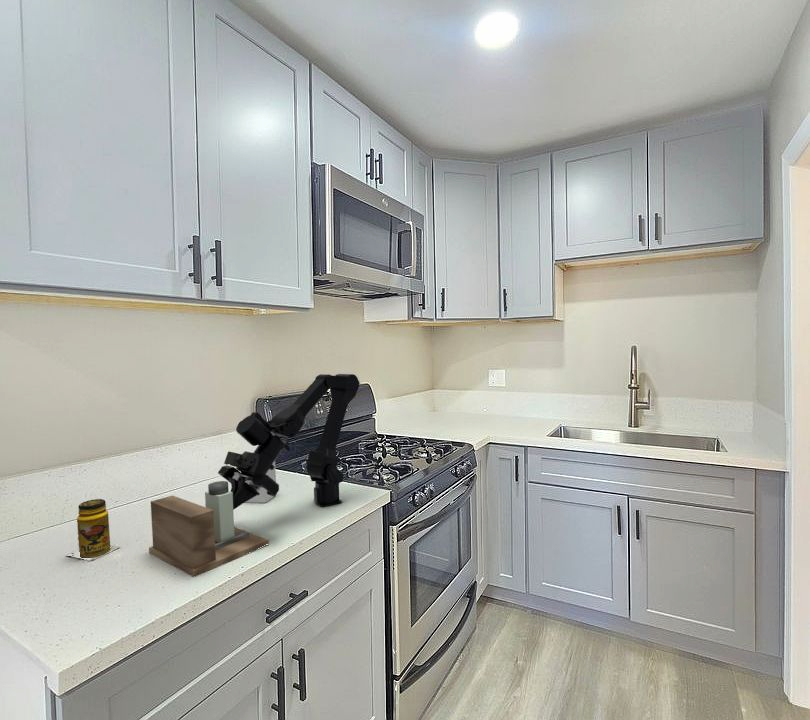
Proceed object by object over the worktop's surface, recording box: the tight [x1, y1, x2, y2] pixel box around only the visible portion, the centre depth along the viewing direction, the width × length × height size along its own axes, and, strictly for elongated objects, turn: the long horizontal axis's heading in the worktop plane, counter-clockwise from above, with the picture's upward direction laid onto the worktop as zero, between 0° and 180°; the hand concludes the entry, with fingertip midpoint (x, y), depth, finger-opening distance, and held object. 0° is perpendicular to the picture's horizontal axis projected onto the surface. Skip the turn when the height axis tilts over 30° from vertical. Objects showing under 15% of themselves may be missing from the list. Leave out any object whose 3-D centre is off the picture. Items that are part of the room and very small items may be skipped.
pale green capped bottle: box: [204, 480, 235, 543], centre depth 112 cm, size 4×6×13 cm
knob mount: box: [148, 494, 270, 577], centre depth 109 cm, size 18×20×12 cm
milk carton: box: [241, 441, 278, 504], centre depth 144 cm, size 7×7×19 cm
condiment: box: [70, 498, 121, 562], centre depth 110 cm, size 7×8×12 cm
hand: (227, 511), depth 113 cm, fingers closed, pressing on pale green capped bottle
